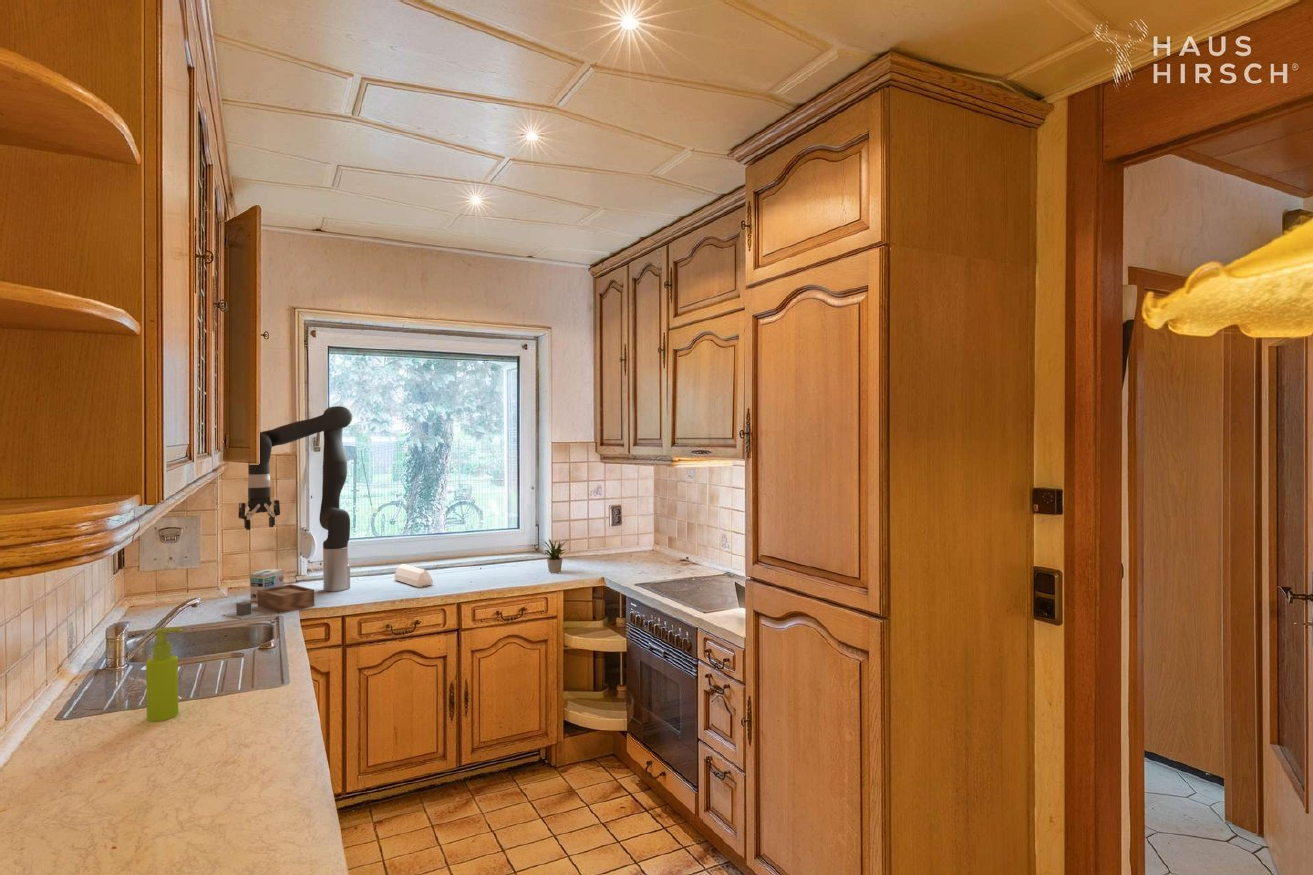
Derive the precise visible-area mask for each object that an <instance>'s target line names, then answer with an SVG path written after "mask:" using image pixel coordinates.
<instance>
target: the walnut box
mask: <svg viewBox="0 0 1313 875" xmlns="http://www.w3.org/2000/svg"><path fill="white" fill-rule="evenodd" d="M256 605H257V607H258V608H262V609H265V610H269V611H272V612H276V613H279V614H282V613H287V612H291V611H296V610H300V609H306V608H310V607H314V606H315V589H312V588H309V587H305V586H300V585H296V584H292V583H291V584H284V586H279V587H273V588H268V589H262V590H257V603H256Z"/></svg>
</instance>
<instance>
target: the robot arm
mask: <svg viewBox="0 0 1313 875" xmlns="http://www.w3.org/2000/svg"><path fill="white" fill-rule="evenodd" d="M352 421H353V414H352V412H351V410H350V409H349V408H347V407H346V406H341V405H337V406H329V407H328V408H326V409H325V410H324V411H323V414H321V415H318V416H315V417H312V418H308V419H307V418H306V419H304V420H299V421H294V422H290V423H286V424H284V425H281V426H278V427H275V428H272V429H268V430H264V431H261V432H260V431H259V432H260V464H259V465H249V464H248V467H247V468H248V476H247V498H248V501H247V502H238V516H237V517H238V519H240V520H243V526H244V527H243V528H244V529H245V530H246V531H251V527H252V526H251V518H252V517H253V516H254V515H255V514H259V513H266V514H267V515H268V527H269V528H274V526H275V525H276V523H275V522H276V517H277V516H280V515H281V508H280V500H279V499H273V500H271V494H272V493H271V490H272V489H271V486H272V484H271V474H270V460H271V455H272V451H273V450H272V448H273V447H276V446H282V445H287V444H289V443H292V442H297V441H298V440H302V439H304V438H306V437H309V436H312V435H315V434H318V433H322V432H323V450H322V451H323V455H322V456H323V457H322V458H323V459H322V487H321V488H322V492H321V494H322V495H321V504H320V510H319V524H320V526H321V527H322V528H323V529H324V530H326V531H327V537H326V539H325V540H324V541H323V543H322V559H323V560H322V562H323V563H322V567H323V568H322V569H323V571H322V572H323V574H322V575H323V577H322V578H323V580H322V582H323V592H339V591H345V590H347V589H350V588H351V565H350V564H349V562H348V561H349V554H348V552H349V549H348V547H349V546H348V543H349V541H350V539H351V538H350V536H351V516H350V515H349V513H348V512H347V510H346V509H345V510H344V509H342V508H340V497H341V493H342V491H343V488H344V486H345V483H346V482H347V481H346V480H347V476H348V459H347V458H348V457H347V454H346V450H345V447H344V443H343V430H344V428H347V427H348V426H350V424H351V423H352ZM271 506H272V507H273V510H272V508H270V507H271ZM247 507H248V508H249V509H248V510H247V511H246V509H247Z"/></svg>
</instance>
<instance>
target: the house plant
mask: <svg viewBox="0 0 1313 875" xmlns="http://www.w3.org/2000/svg"><path fill="white" fill-rule="evenodd" d="M539 540H541V541H542V542H543V543H542V546H544V548H546V549H545V550H543V551H542V552H543V553H544V556H546V555H548V558H547V559H546V561H547V568H548V573H549V572H551V573H550V574H559V573H558V572H560V573H561V571H562V565H563V557H561V556H562V555H563V554H564V553H565V549H562V547H563V546H564V545H565V544H566V543H567V542H568V540H566V541H564V542H561V540H559V542H558V544H557V541H554V543H553V542H552V540H551V539H550V538H548V542H549V544H548V543H547V542H546V541H545V540H544V539H539ZM556 544H557V547H556ZM563 551H564V552H563Z"/></svg>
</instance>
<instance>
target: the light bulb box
mask: <svg viewBox="0 0 1313 875" xmlns="http://www.w3.org/2000/svg"><path fill="white" fill-rule="evenodd" d="M284 573H285V570H284V569H281V568H280V569H279V568H268V569H264V570H259V571H257V572H256V571H255V572H252V573H250V574H249V576H250V577H249V578H250V580H249V581H250V582H249V584H250V585H249V586H250V589H249V590H250V592H249V593H250V596H249V597H250V602H257V590H262V589H268V588H273V587H279V586H284V585H285V583H284V582H285V580H284V579H285V576H284V575H285V574H284Z"/></svg>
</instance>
